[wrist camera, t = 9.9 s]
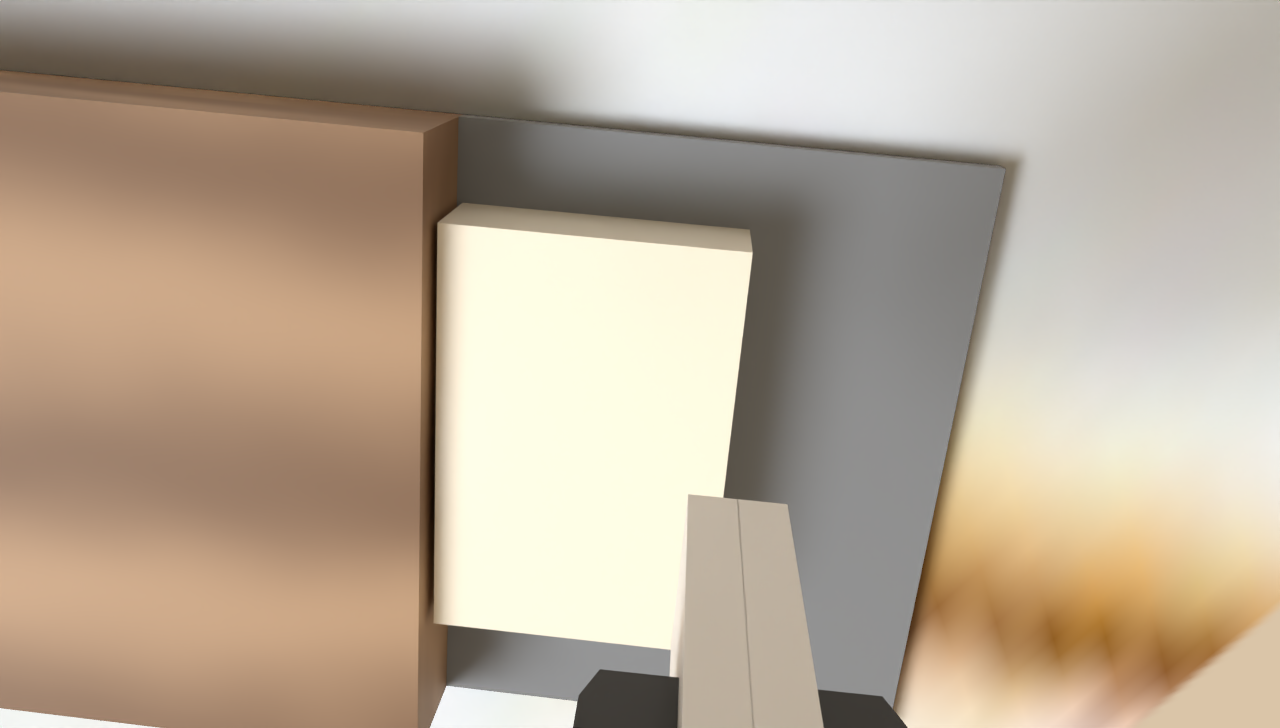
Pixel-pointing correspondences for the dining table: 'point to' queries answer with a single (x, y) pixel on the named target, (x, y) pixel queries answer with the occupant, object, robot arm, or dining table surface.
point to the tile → (578, 414)
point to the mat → (785, 362)
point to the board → (218, 406)
